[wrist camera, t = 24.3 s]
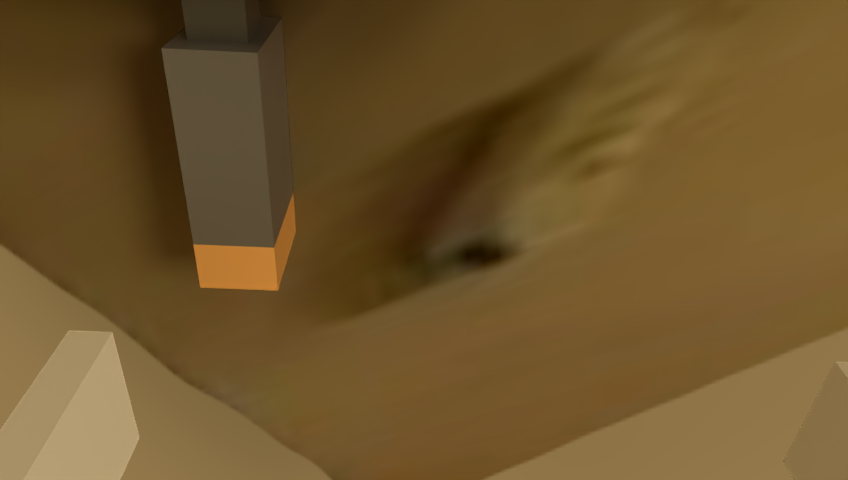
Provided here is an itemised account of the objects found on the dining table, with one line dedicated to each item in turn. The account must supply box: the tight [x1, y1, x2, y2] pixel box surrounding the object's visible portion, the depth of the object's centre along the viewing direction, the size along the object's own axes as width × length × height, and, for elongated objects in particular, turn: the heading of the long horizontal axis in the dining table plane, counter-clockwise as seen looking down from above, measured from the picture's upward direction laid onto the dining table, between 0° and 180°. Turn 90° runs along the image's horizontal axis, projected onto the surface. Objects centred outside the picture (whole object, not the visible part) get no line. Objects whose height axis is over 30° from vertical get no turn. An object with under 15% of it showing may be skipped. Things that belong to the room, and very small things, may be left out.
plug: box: [161, 0, 296, 291], centre depth 37 cm, size 17×4×6 cm, turn 177°
